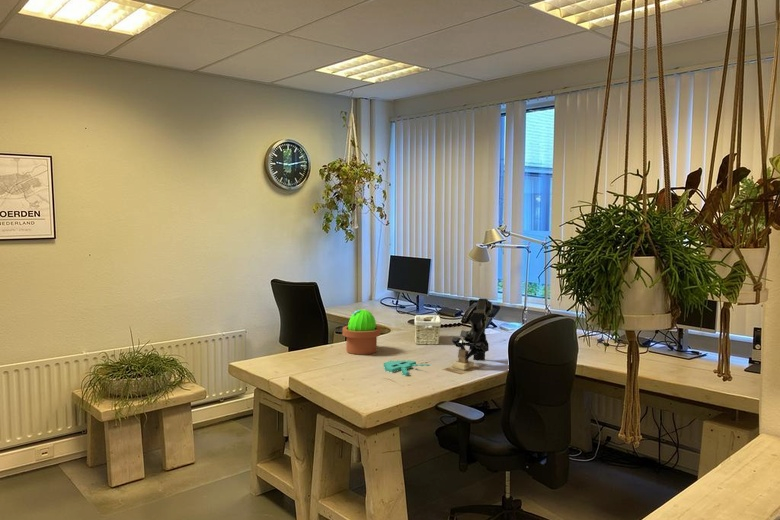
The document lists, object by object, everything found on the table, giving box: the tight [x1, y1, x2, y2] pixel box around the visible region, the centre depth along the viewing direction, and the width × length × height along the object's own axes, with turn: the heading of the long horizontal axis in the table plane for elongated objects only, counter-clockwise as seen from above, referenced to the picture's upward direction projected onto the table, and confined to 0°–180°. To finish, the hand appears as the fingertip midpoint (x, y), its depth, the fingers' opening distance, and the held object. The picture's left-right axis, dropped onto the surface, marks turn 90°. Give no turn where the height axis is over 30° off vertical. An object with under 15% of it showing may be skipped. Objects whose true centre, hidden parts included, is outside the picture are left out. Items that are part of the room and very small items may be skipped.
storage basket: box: [414, 314, 442, 346], centre depth 359 cm, size 24×16×15 cm
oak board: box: [441, 365, 482, 375], centre depth 291 cm, size 18×12×2 cm, turn 137°
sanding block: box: [452, 349, 475, 371], centre depth 292 cm, size 8×7×9 cm
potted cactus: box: [342, 309, 382, 356], centre depth 330 cm, size 22×22×25 cm
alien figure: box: [383, 359, 430, 377], centre depth 296 cm, size 20×2×20 cm
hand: (461, 358), depth 291 cm, fingers closed on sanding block, 4 cm apart
